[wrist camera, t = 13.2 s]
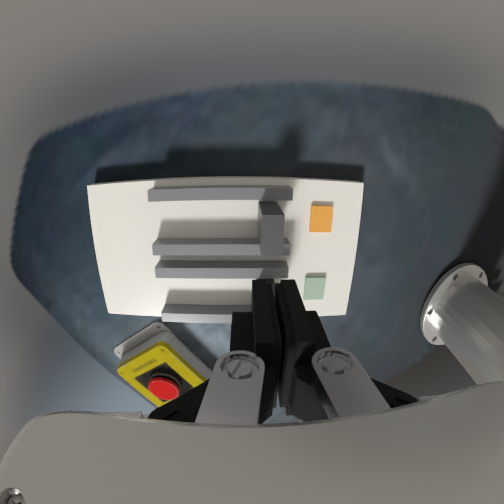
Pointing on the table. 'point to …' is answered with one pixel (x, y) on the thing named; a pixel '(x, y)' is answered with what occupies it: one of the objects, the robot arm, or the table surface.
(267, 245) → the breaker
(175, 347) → the emergency button
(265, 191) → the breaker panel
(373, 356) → the table surface
